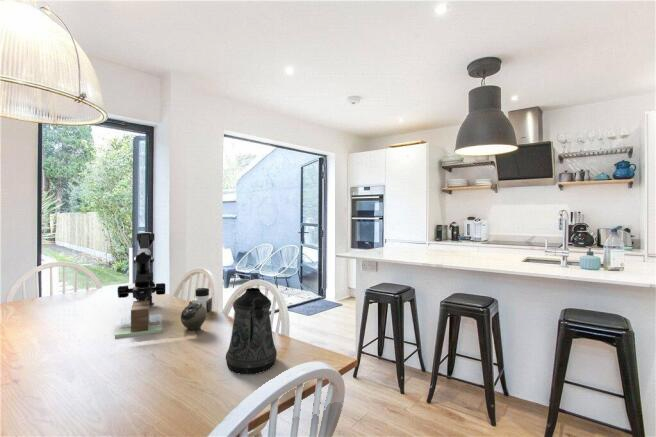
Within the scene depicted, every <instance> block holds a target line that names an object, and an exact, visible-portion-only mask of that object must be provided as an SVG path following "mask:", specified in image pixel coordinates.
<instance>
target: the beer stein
mask: <svg viewBox="0 0 656 437" xmlns="http://www.w3.org/2000/svg"><path fill="white" fill-rule="evenodd" d="M232 308H233V310H234V316H233V317H234V318H233V323H232V330H231V336H230V342H229V346H228V349H227V351H226V354H225V361H226V366H228V367H227V368H228V370H229V371H230V370H231V371H230V372H232V371H233V372H232V373H234V372H235V374H238V373H240V374H239V375H243V374H247V375H257V374H256V373H258V374H260V373H259V372H262V373H264V372H263V371H265V372H267V371H269V370H271V369H272V368H273V367H274V366H275V363H276V359H277V355H278V354H277V352H278V351H277V348H276V345H275V341H274V337H273V331H272V323H271V315H270V309H271V308H272V301H271V300H270V298H269V297H267V296H266V295H265V294H264V293H263V292H261V290H260V288H259V287H248V288H246V289H245V292H244V293H242V295H240V296H239V297H237V298H236V299H235V300H234V301H233V302H232ZM273 365H274V366H273ZM272 366H273V367H272ZM271 367H272V368H271ZM270 368H271V369H270ZM268 369H269V370H268ZM266 370H267V371H266Z"/></svg>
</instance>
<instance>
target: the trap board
mask: <svg viewBox="0 0 656 437" xmlns="http://www.w3.org/2000/svg"><path fill="white" fill-rule="evenodd" d="M153 322H158V324H152V325H151V323H153ZM125 325H131V316H130V317H129V316H128V317H121V319H120V322H119V325H118V327H117V331H116V333H115V334H114V338H115V339H120V338H127V337H136V336H145V335H153V334H160V333H161V334H162V333H163V314H162V313H158V314H157V313H156V314H149V327H148V331H140V332H132V333H131V327H127V328H126V327H124V328H122V327H123V326H125Z"/></svg>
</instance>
